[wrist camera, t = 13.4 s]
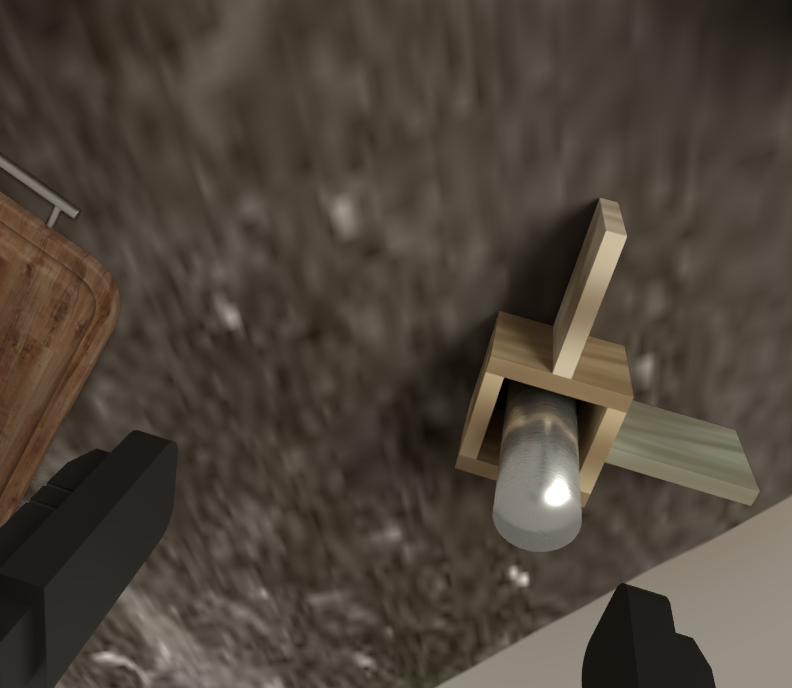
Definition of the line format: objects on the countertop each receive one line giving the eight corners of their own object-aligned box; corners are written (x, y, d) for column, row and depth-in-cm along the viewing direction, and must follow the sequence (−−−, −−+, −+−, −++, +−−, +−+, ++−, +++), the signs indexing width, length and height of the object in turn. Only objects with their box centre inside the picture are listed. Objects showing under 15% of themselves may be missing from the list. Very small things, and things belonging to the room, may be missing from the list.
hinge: (540, 181, 39) (537, 212, 34) (828, 259, 38) (872, 303, 32) (466, 413, 46) (454, 468, 41) (705, 484, 45) (724, 550, 40)
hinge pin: (519, 344, 43) (506, 471, 32) (584, 363, 43) (594, 497, 32) (501, 398, 45) (483, 536, 34) (563, 416, 45) (565, 562, 34)
